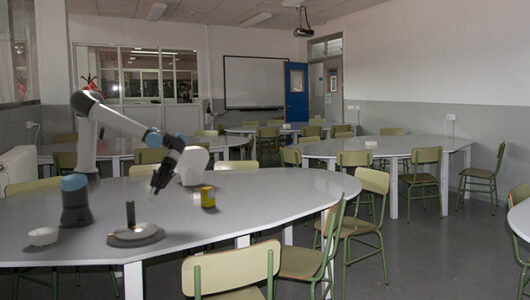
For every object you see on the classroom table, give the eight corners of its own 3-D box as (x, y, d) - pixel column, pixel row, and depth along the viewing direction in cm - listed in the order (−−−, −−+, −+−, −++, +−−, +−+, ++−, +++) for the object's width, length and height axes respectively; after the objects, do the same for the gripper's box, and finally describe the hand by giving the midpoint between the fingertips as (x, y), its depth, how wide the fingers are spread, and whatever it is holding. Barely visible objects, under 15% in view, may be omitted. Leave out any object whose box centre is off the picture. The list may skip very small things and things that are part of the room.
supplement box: (208, 204, 219) (207, 185, 217) (216, 206, 215) (215, 187, 214) (200, 207, 214) (199, 187, 213) (207, 209, 210) (207, 189, 209)
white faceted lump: (183, 187, 263) (181, 150, 259) (175, 180, 287) (173, 146, 284) (213, 184, 271) (211, 148, 268) (203, 177, 296) (201, 144, 292)
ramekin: (23, 246, 162) (21, 233, 161) (46, 237, 172) (45, 225, 171) (42, 249, 158) (41, 236, 157) (65, 239, 168) (64, 227, 167)
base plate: (96, 247, 158) (95, 242, 158) (122, 227, 182) (122, 223, 182) (153, 247, 156) (152, 243, 156) (172, 228, 180) (172, 224, 180)
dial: (164, 235, 167) (162, 205, 165) (120, 244, 157) (118, 213, 155) (150, 224, 181) (148, 197, 180) (109, 232, 171) (107, 203, 170)
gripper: (156, 155, 197) (135, 194, 184) (177, 156, 192) (157, 197, 179) (164, 163, 203) (143, 202, 190) (184, 165, 197) (165, 205, 184)
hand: (150, 200), depth 184 cm, fingers closed
